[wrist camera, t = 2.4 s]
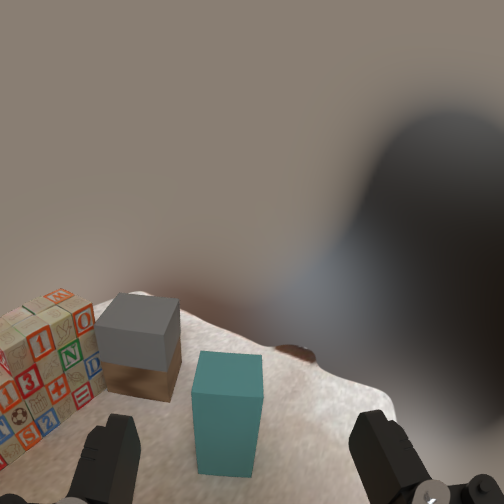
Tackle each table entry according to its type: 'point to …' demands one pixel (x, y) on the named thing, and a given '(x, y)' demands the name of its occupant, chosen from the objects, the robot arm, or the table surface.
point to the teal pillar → (227, 412)
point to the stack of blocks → (45, 368)
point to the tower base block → (143, 379)
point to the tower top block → (139, 331)
